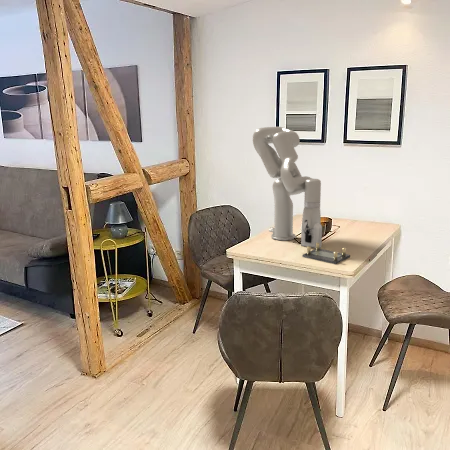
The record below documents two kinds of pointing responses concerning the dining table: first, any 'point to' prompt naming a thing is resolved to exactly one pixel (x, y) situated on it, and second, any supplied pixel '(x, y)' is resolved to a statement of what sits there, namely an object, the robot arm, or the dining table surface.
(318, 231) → the photo printer
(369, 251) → the dining table surface
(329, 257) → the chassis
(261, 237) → the dining table surface
